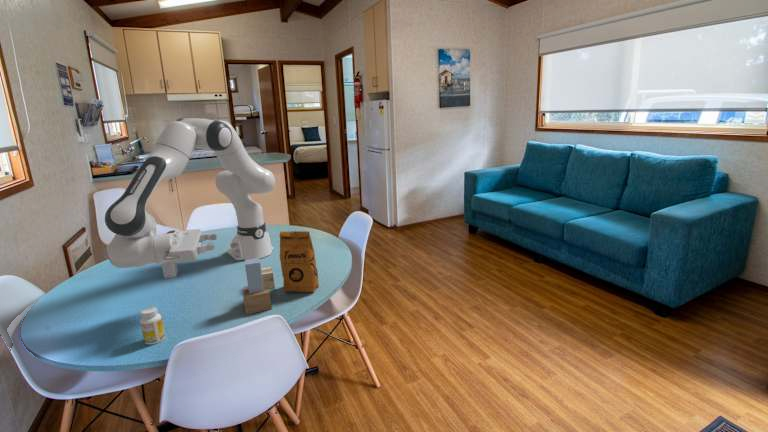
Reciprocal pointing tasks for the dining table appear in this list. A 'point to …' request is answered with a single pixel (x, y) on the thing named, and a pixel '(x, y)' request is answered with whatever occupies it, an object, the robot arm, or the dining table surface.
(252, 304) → the walnut block
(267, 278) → the birch block
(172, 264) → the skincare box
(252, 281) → the slate block
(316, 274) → the coffee package
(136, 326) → the dining table surface
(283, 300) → the dining table surface
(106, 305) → the dining table surface
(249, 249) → the robot arm
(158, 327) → the supplement bottle
